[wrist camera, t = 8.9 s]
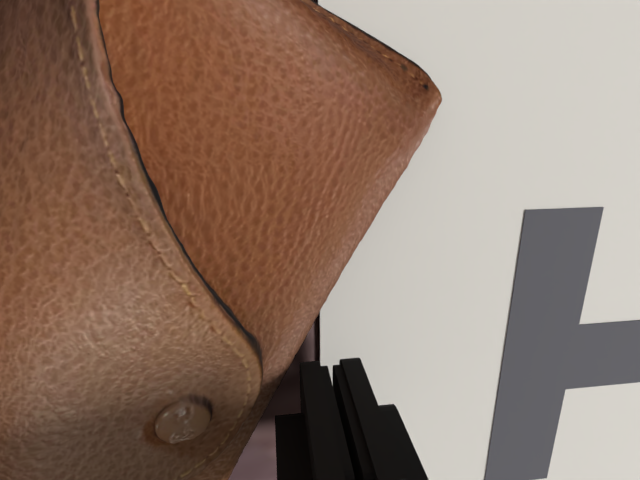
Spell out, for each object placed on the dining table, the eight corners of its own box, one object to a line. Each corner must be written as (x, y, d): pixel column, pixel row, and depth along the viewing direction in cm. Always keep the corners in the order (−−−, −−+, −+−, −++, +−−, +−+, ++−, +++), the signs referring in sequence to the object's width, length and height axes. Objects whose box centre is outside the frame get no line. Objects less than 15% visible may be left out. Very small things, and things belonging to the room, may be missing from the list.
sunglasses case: (186, 595, 14) (-57, 918, 7) (49, 461, 16) (-234, 626, 9) (464, 70, 10) (444, -191, 3) (232, -22, 12) (-50, -292, 5)
